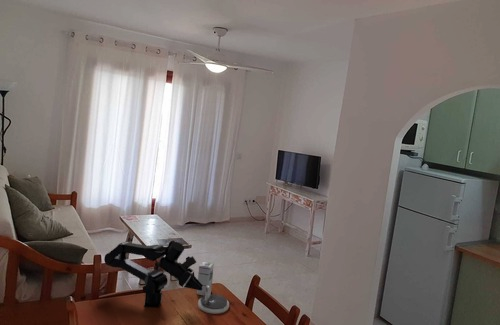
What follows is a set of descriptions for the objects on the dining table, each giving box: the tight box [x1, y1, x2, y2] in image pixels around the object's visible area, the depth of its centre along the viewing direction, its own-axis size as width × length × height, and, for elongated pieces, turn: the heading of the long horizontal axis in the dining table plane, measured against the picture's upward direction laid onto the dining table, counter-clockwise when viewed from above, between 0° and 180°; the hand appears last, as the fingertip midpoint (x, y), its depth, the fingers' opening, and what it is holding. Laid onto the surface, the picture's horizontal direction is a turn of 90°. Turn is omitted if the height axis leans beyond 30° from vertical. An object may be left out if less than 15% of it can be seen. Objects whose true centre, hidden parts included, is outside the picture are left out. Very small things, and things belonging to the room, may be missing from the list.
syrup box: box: [196, 261, 215, 297], centre depth 182 cm, size 6×6×14 cm
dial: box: [200, 285, 228, 309], centre depth 170 cm, size 12×12×9 cm
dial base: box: [197, 297, 230, 315], centre depth 171 cm, size 14×14×2 cm
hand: (202, 287), depth 162 cm, fingers open, 9 cm apart
